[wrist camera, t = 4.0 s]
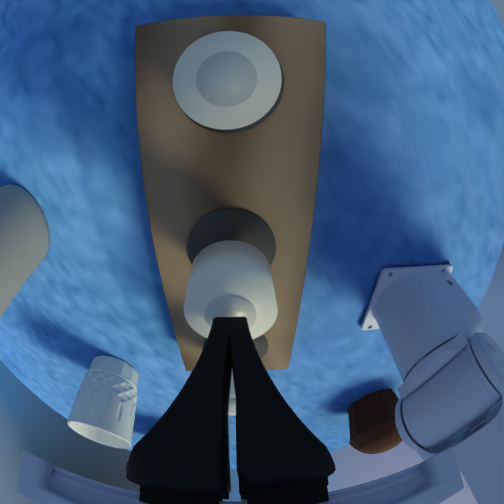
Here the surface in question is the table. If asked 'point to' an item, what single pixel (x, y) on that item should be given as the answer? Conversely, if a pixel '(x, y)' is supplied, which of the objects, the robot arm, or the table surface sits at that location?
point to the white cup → (106, 402)
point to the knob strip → (232, 168)
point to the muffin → (374, 422)
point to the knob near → (227, 80)
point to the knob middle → (230, 288)
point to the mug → (19, 240)
